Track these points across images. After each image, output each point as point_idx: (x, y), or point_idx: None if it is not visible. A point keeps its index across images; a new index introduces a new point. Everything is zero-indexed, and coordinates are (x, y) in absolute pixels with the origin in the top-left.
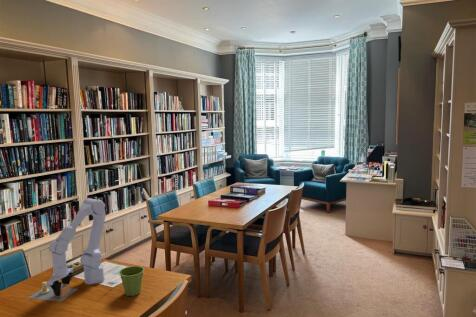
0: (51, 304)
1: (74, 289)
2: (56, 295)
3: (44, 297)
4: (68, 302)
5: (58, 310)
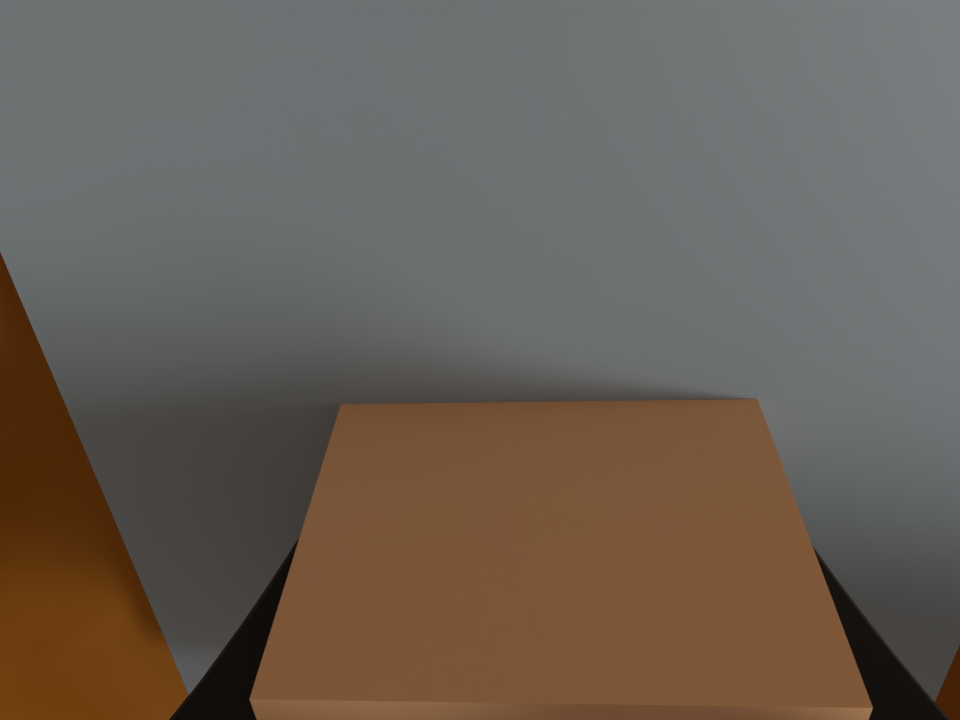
0: None
1: None
2: None
3: (121, 125)
4: None
5: (33, 714)
